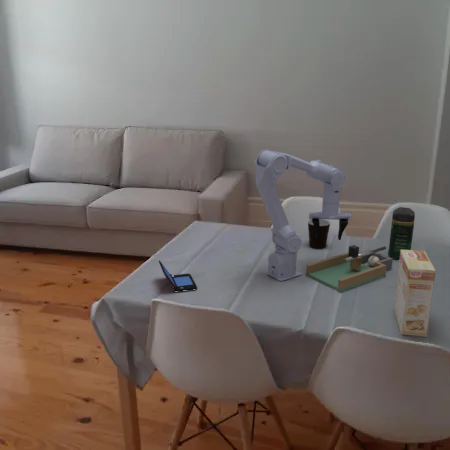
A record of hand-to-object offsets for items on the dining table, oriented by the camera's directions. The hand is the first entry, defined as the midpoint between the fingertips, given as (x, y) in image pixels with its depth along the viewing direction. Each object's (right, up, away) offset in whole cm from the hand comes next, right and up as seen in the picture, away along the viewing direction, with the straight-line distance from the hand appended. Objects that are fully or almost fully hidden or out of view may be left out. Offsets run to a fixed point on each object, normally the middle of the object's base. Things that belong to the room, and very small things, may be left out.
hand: (328, 238), depth 183 cm
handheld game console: (-52, -15, -11) cm, 56 cm away
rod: (+13, -9, -1) cm, 16 cm away
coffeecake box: (+16, -23, -36) cm, 46 cm away
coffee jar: (+29, -7, +12) cm, 32 cm away
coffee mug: (+1, -3, +23) cm, 24 cm away
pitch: (+8, -12, -4) cm, 15 cm away
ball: (+17, -8, +2) cm, 19 cm away
